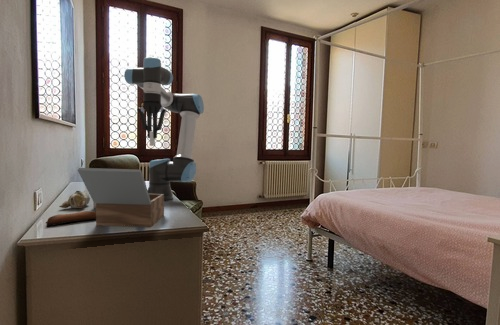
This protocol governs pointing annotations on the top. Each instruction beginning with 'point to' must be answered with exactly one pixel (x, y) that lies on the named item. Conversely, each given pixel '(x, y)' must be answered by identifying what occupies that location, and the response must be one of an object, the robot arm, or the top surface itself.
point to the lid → (115, 186)
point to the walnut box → (131, 213)
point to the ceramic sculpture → (77, 200)
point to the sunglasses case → (70, 217)
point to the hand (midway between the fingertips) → (152, 145)
